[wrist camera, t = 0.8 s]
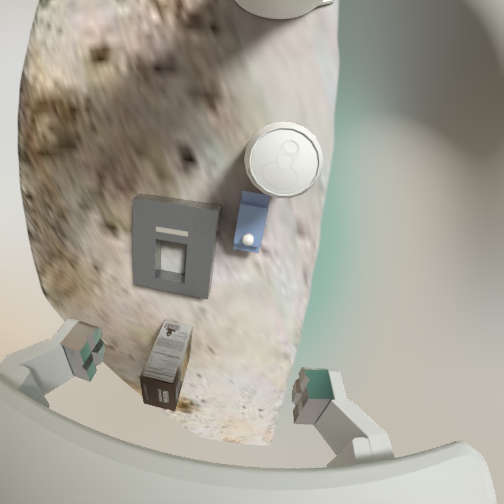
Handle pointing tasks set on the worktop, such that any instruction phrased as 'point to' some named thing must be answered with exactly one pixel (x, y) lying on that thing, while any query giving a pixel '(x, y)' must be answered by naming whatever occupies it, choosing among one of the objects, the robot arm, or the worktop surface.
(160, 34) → the worktop surface
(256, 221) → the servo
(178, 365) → the coffee box
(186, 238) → the plate
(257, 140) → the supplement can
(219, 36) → the worktop surface
